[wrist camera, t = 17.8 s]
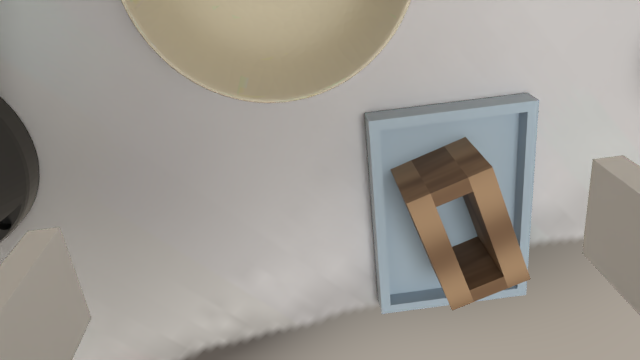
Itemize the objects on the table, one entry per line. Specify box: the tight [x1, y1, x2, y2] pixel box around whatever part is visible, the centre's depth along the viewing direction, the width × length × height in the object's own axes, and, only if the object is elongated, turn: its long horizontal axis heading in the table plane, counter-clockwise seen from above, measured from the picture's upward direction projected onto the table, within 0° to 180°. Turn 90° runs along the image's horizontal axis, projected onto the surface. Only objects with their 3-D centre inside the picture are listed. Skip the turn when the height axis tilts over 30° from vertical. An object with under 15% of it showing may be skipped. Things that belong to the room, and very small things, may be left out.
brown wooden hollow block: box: [390, 137, 530, 310], centre depth 44 cm, size 12×6×6 cm, turn 24°
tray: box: [365, 93, 539, 314], centre depth 46 cm, size 13×18×2 cm
